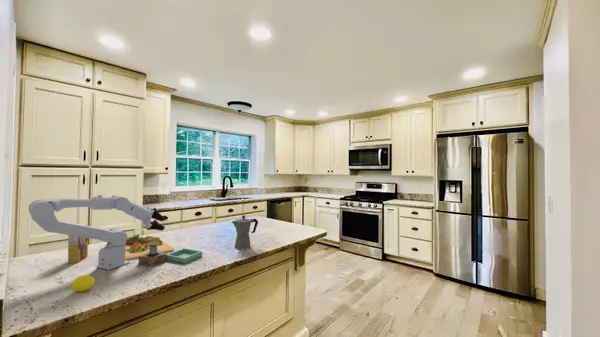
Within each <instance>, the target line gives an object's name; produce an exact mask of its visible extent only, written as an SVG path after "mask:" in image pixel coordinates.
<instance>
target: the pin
mask: <svg viewBox="0 0 600 337" xmlns="http://www.w3.org/2000/svg"><path fill="white" fill-rule="evenodd" d="M158 244H159V242H158V241H154V242H149V243H148V244H147V245H149V256H151V257H153V256H156V255H157V245H158Z"/></svg>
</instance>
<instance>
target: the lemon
mask: <svg viewBox="0 0 600 337" xmlns="http://www.w3.org/2000/svg"><path fill="white" fill-rule="evenodd" d="M95 283H96V280H95V279H94V277H93V276H91V275H88V274H85V275H80V276H77V277H76V278H75V279H74V280H72V281H71V282H70V283H69V286H70V288H72V289H73V290H74V291H75V292H81V293H82V292H83V293H84V292H86V291H88V290H90V289H91V288H92V287H93V286H94V285H95Z"/></svg>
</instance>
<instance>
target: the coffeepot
mask: <svg viewBox="0 0 600 337" xmlns="http://www.w3.org/2000/svg"><path fill="white" fill-rule="evenodd" d="M241 217H242V218H239V219H236V220H232V222H231V224H233V226H234V227H235V230H236V231H235V232H236V238H235V244H234V248H235V249H237V248H238V249H237V250H243V249H242V248H247V249H249V248H251V239H250V230H251V226H252V225H251V224H252V223H254V226H253V230H252V231H251V234H254V233H255V232H256V230H257V227H258V225H259V221H258V219H256V218H250V219H247V218H246V216H245V214H244V215H241ZM248 247H249V248H248Z"/></svg>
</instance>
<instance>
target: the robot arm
mask: <svg viewBox="0 0 600 337" xmlns="http://www.w3.org/2000/svg"><path fill="white" fill-rule="evenodd" d="M88 207H89V208H90V209H92V210H93V211H96V210H97V211H98V210H99V211H105V210H106V211H107V210H113V209H115V210H116V211H121V212H124V213H125V214H126V215H129V216H131V217H133V218H134V219H137V220H139V221H141V222H142V223H143V225H144V227H145V228H146V230H148V231H151V230H152V231H153V230H155V231H159V232H160V231H161V232H162V231H164V230H165V229H166V227H165V225H163V224H161V223H160V222H163V221H164V220H165V219H166V218H165V217H164V216H163V215H162V214H161V212H159V210H158V209H157V208H156V207H151V206H147V207H146V208H145V207H143V206H142V205H139V204H137V203H135V202H133V201H131V200H130V199H128V198H127V197H124V196H121V195H120V196H119V195H112V196H107V195H105V196H103V195H102V194H98V195H97V196H96V195H95V196H93V197H91V198H87V199H86V198H83V199H82V198H48V199H37V200H36V199H35V200H34V201H32V202H31V203H30V204H29V205H28V212H29V214H30V217H31V218H32V221H34V222H35V223H36V225H38V226H39V227H40V228H41V229H42V230H44V231H45V232H47V233H52V234H58V235H59V234H60V235H66V236H68V235H72V236H78V237H84V238H88V239H91V240H98V241H102V242H105V243H106V244H105V246H104V247H102V248H100V249H99V251H98V258H97V260H98V261H97V265H96V267H97V268H100V269H104V270H108V271H109V270H112V269H116V268H119V267H121V266H124V265H127V264H130V263H131V261H130V260H128V261H126V260H125V252H126V241H127V238H128V234H127V233H126V232H125V231H122V230H121V229H120V228H117V227H113V228H105V227H104V228H102V227H96V226H92V225H91V226H90V225H88V226H86V225H85V224H80V223H75V222H68V221H63V220H58V218H57V217H56V215H55V212H56V213H58V212H60V211H62V210H64V209H67V208H71V209H72V208H88ZM152 219H153V221H151V220H152ZM159 221H160V222H159Z"/></svg>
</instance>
